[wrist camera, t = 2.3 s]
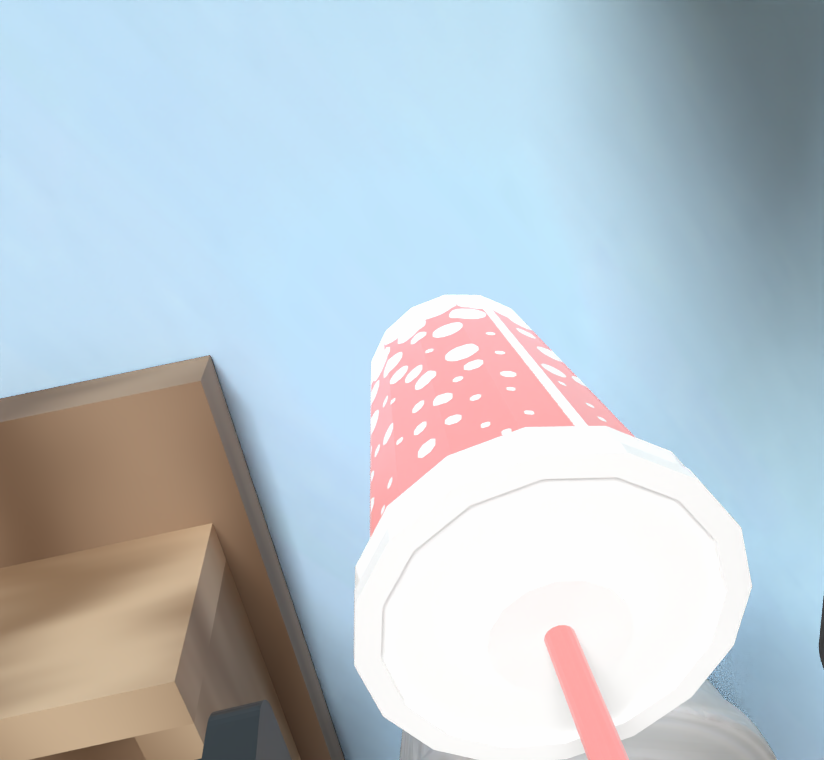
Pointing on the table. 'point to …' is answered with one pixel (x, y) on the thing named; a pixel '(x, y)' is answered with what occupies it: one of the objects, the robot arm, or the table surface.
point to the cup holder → (140, 576)
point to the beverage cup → (528, 550)
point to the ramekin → (667, 735)
